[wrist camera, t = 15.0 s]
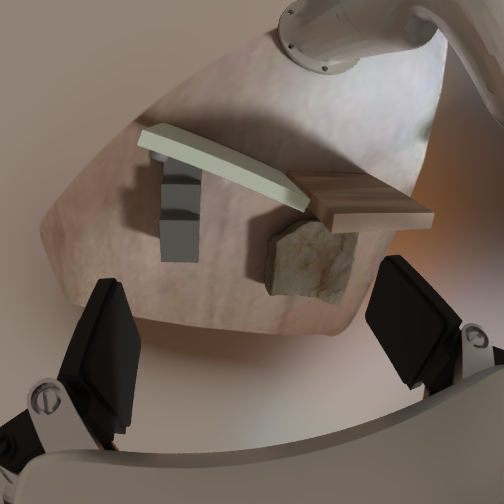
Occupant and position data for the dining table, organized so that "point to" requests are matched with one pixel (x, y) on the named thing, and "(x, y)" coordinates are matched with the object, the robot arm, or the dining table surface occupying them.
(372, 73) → the dining table surface
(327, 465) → the robot arm
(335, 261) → the marble piece
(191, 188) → the grey stepped block
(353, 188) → the wood grain plank
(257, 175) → the door
